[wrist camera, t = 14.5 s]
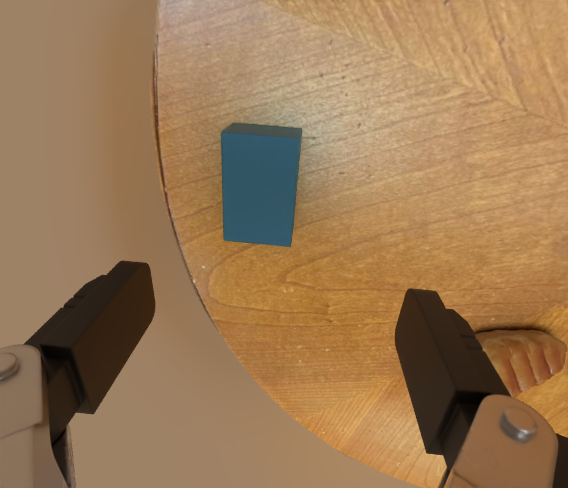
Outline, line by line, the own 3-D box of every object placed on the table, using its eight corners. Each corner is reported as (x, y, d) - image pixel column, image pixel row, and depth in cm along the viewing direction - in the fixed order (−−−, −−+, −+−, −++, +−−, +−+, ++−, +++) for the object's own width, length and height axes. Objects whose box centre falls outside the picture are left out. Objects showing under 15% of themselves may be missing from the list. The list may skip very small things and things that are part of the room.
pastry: (548, 307, 27) (581, 343, 23) (559, 362, 29) (591, 401, 26) (428, 342, 29) (443, 378, 26) (449, 389, 32) (465, 428, 29)
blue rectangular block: (232, 122, 22) (220, 131, 19) (302, 128, 21) (300, 138, 19) (233, 220, 25) (223, 240, 22) (293, 226, 25) (290, 247, 22)
